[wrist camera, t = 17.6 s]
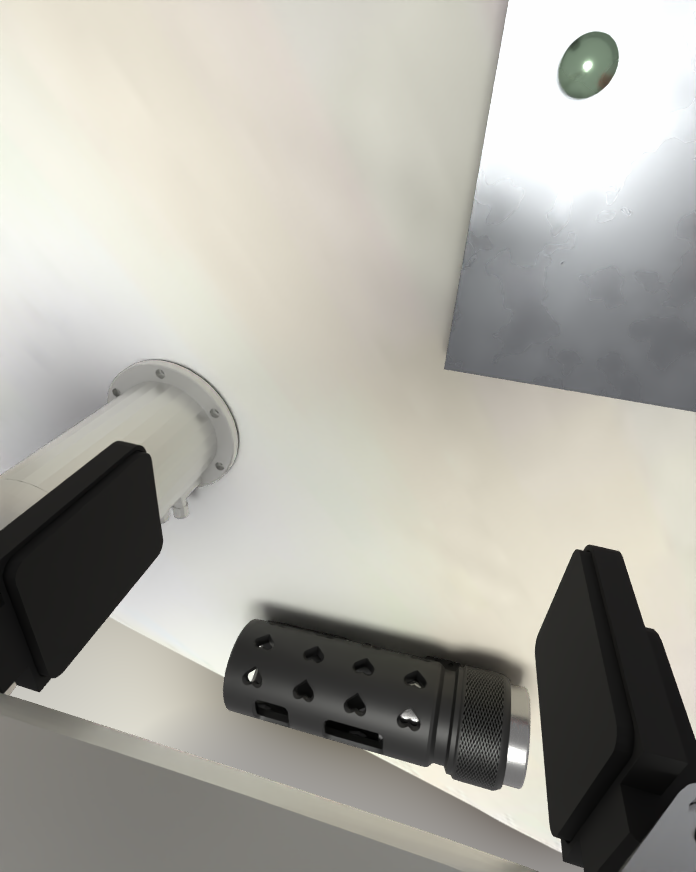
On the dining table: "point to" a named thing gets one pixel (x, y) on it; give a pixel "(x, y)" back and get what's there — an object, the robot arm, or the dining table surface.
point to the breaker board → (587, 205)
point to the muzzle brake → (383, 701)
